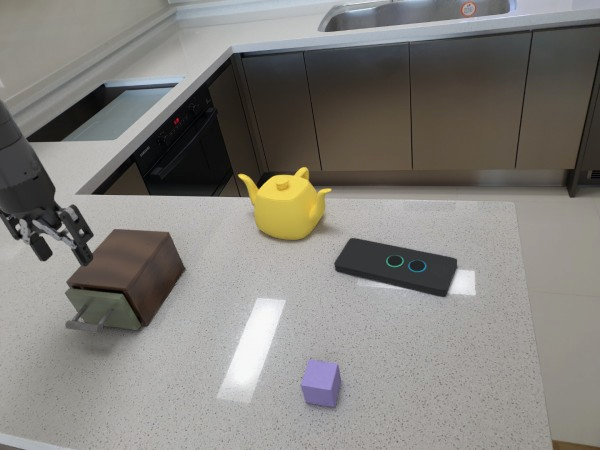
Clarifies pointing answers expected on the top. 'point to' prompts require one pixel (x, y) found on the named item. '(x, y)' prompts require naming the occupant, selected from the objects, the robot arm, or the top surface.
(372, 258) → the smart home device
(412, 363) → the top surface
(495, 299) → the top surface
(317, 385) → the lavender cube
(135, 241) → the cabinet
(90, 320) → the drawer
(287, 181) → the teapot
